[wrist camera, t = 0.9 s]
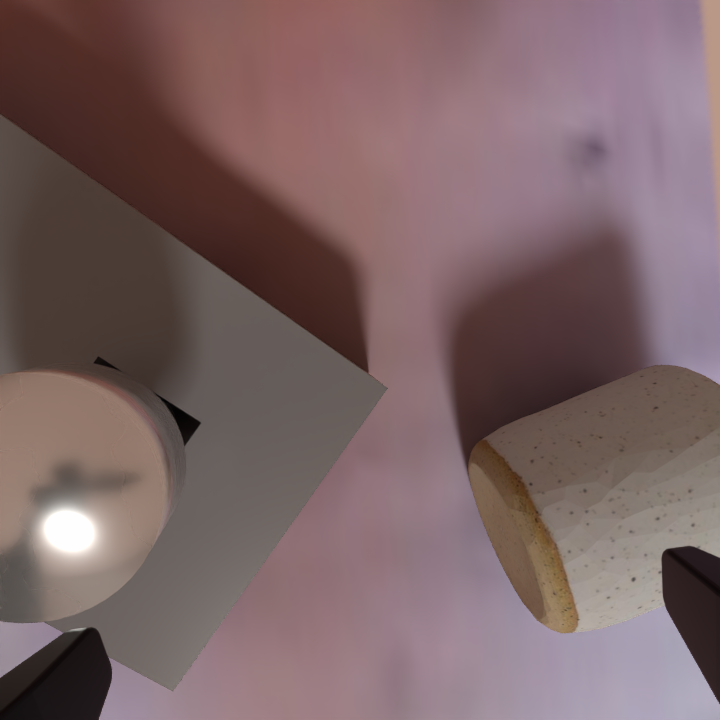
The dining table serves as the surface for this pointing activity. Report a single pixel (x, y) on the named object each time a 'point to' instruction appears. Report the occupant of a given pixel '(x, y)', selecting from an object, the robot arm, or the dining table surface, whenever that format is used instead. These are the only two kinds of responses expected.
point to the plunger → (80, 485)
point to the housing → (173, 390)
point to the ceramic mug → (602, 495)
